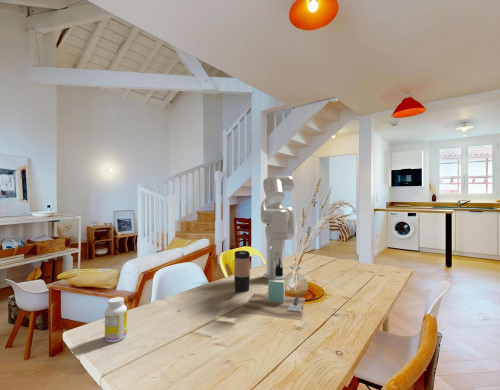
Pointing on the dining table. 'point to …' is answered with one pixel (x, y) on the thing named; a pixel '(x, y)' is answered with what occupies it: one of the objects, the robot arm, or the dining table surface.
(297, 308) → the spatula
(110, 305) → the supplement bottle
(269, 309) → the board
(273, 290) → the tile
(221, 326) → the dining table surface
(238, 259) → the travel mug
